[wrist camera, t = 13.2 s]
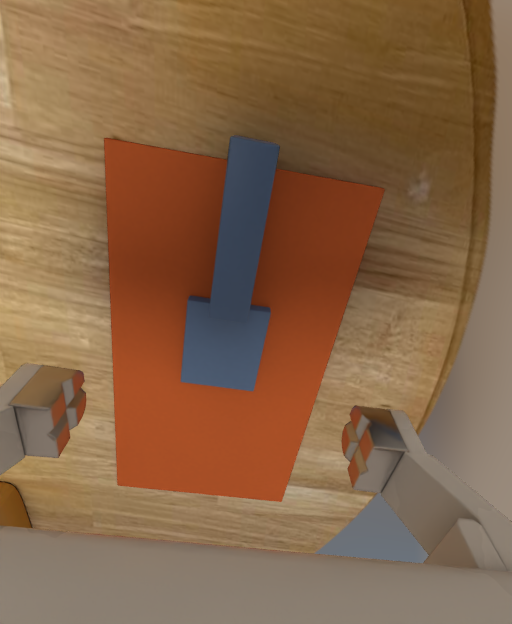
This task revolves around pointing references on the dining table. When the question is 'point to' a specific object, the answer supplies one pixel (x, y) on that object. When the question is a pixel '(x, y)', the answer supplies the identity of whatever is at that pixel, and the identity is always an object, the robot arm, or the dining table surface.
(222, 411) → the flat orange board
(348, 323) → the dining table surface
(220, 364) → the blue stepped bar
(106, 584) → the robot arm
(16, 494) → the bread
